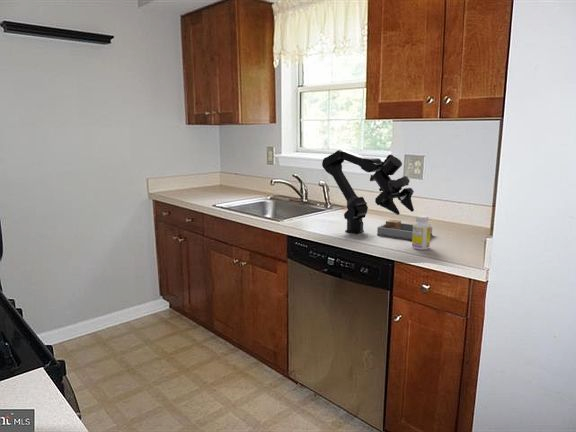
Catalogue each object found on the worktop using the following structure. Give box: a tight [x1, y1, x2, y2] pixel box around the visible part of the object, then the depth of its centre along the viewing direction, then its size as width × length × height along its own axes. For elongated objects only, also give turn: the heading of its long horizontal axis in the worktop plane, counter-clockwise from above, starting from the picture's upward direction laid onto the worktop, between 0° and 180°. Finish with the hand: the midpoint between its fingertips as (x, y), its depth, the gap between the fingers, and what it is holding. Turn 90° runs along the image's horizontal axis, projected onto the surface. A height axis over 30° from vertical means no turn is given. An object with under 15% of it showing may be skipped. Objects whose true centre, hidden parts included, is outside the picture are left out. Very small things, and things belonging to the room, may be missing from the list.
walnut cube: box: [385, 218, 402, 230], centre depth 193 cm, size 5×5×5 cm
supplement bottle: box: [411, 214, 432, 251], centre depth 169 cm, size 7×7×13 cm
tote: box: [376, 222, 433, 241], centre depth 190 cm, size 20×14×4 cm
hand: (406, 212), depth 174 cm, fingers open, 9 cm apart
